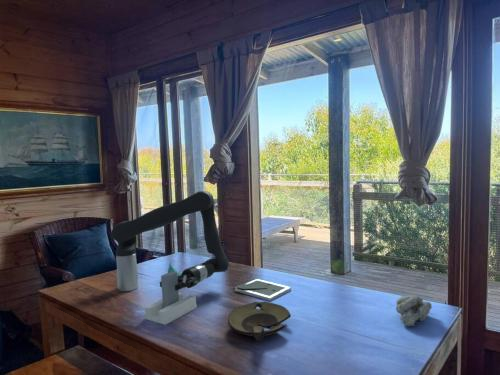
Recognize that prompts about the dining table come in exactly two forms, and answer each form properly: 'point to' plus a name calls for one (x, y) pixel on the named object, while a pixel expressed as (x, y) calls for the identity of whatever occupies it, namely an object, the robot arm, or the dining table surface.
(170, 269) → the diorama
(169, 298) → the slate slat
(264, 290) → the picture frame
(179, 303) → the rail
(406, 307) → the mineral
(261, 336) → the oil lamp
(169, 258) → the dining table surface
